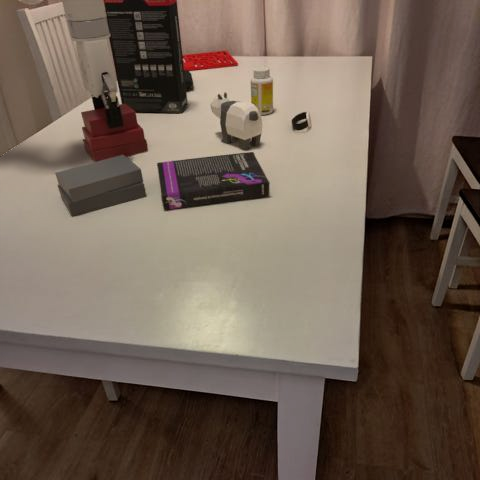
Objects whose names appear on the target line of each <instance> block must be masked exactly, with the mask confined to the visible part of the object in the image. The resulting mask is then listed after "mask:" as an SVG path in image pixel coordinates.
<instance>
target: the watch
mask: <svg viewBox="0 0 480 480" xmlns="http://www.w3.org/2000/svg"><path fill="white" fill-rule="evenodd" d="M303 120H304V121H303ZM300 121H302V122H300ZM291 125H292V128H293V130H294V131H304V130H305V129H307V128H311V127H312V118H311V114H310V112H309V111H308V110H307V111H303V112H299V113H298V114H296V115H295V116H294V117H293V118H292V119H291Z"/></svg>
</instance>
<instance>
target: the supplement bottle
mask: <svg viewBox="0 0 480 480" xmlns="http://www.w3.org/2000/svg"><path fill="white" fill-rule="evenodd" d="M270 71H271V70H270V67H267V66H256V67H254V68H253V74H252V75H253V76H252V77H251V78H250V103H251V104H254V105H255V106H256V107H257V109H258V110H259V112H260V114H261V116H266V115H270V114H272V112H274V78H273V76H271V75H270V74H271V72H270Z"/></svg>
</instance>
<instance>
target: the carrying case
mask: <svg viewBox="0 0 480 480" xmlns="http://www.w3.org/2000/svg"><path fill="white" fill-rule="evenodd" d="M184 74H185V83H186V92H188V91H191V90H192V89H193V87H194V80H193V76H192V75H193V74H192V73H191V72H190V70H184Z"/></svg>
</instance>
